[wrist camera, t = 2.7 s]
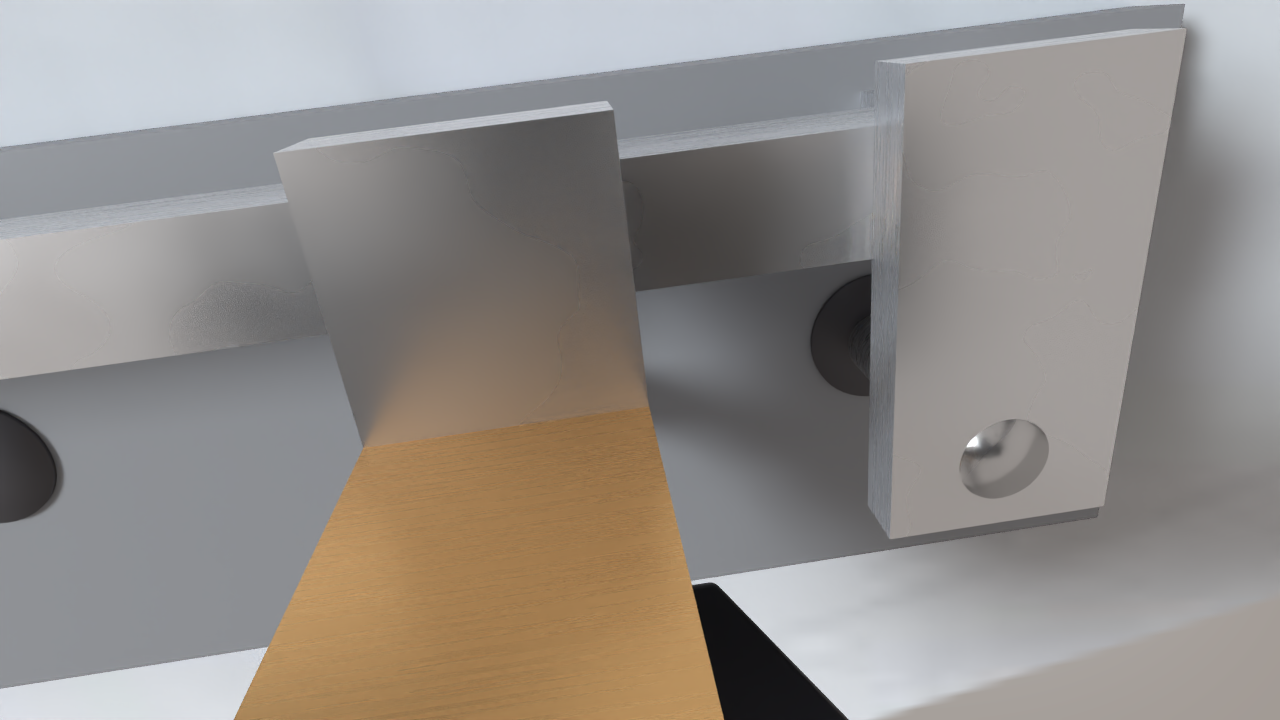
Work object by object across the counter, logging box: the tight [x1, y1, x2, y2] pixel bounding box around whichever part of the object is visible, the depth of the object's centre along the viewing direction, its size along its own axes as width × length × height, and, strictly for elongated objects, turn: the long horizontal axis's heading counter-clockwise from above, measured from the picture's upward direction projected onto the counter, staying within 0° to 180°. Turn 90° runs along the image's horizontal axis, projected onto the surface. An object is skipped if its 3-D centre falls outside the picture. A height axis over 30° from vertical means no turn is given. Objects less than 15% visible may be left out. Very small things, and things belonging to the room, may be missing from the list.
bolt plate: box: [0, 4, 1185, 689], centre depth 14 cm, size 26×10×1 cm, turn 96°
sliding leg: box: [234, 101, 724, 720], centre depth 8 cm, size 3×7×9 cm, turn 6°
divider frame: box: [0, 28, 1187, 539], centre depth 10 cm, size 22×6×4 cm, turn 96°
